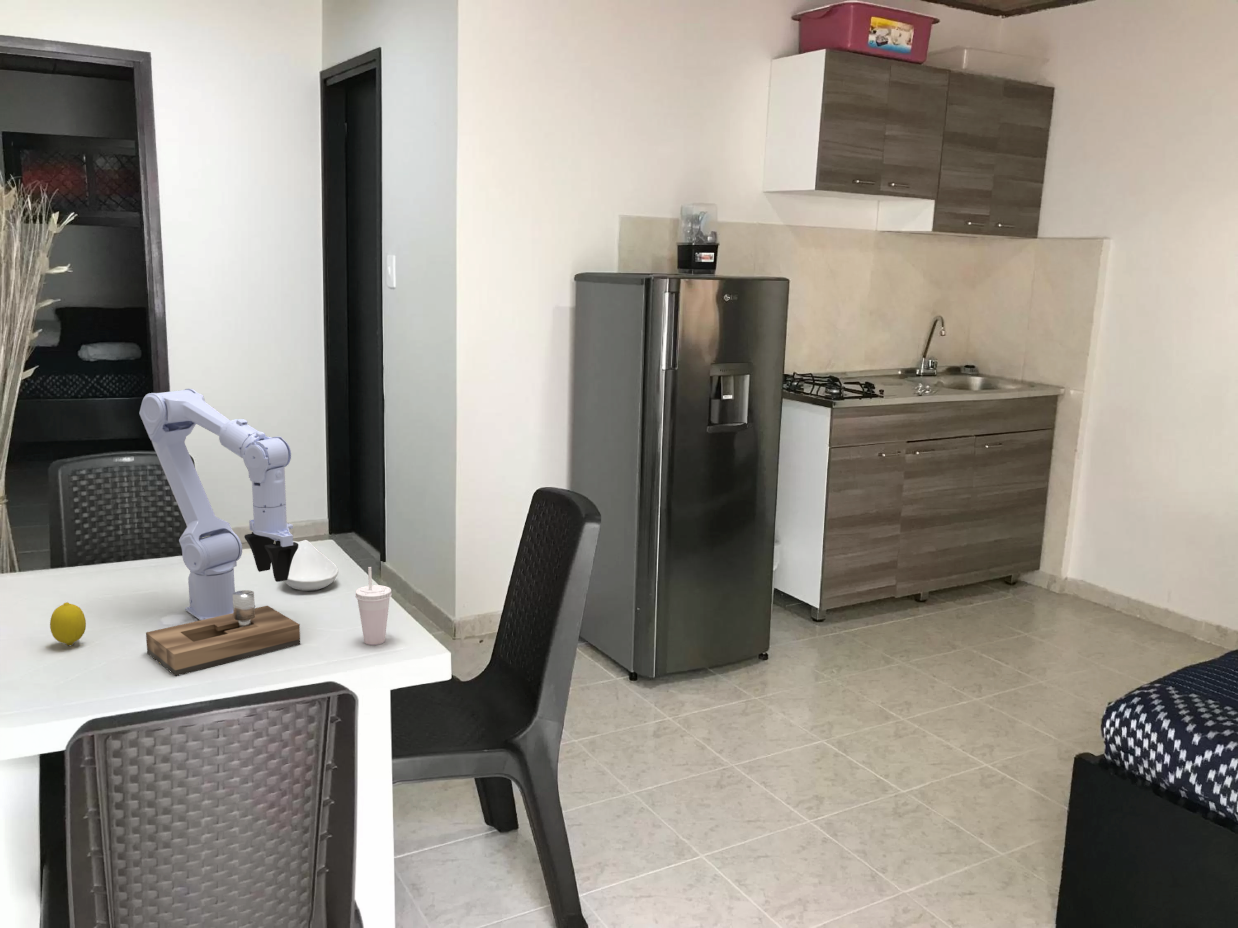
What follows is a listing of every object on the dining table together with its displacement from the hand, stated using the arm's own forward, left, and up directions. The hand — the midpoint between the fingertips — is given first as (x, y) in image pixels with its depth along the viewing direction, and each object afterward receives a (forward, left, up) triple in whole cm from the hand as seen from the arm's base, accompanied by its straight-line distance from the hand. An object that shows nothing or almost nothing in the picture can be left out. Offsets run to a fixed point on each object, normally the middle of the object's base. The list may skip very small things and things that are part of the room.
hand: (272, 575), depth 189 cm
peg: (+4, -7, -9) cm, 12 cm away
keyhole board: (+4, -11, -10) cm, 16 cm away
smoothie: (+17, +11, -11) cm, 23 cm away
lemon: (-15, -31, -11) cm, 36 cm away
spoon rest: (-24, +18, -11) cm, 32 cm away
